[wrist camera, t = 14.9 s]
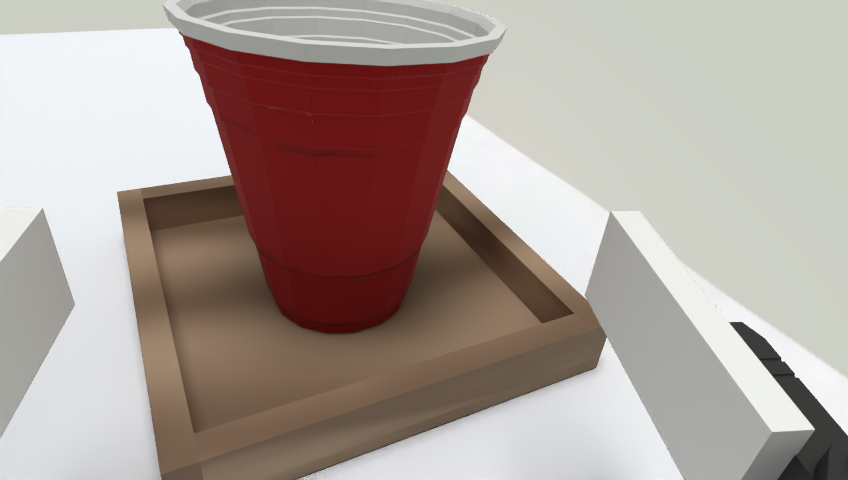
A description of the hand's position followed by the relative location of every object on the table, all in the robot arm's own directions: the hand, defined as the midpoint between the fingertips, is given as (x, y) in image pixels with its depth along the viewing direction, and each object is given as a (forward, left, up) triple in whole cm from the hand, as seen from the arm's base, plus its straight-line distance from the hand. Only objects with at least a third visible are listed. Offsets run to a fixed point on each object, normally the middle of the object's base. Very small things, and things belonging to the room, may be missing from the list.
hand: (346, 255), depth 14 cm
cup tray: (-8, +3, -8) cm, 12 cm away
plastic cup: (-8, +3, -8) cm, 12 cm away
